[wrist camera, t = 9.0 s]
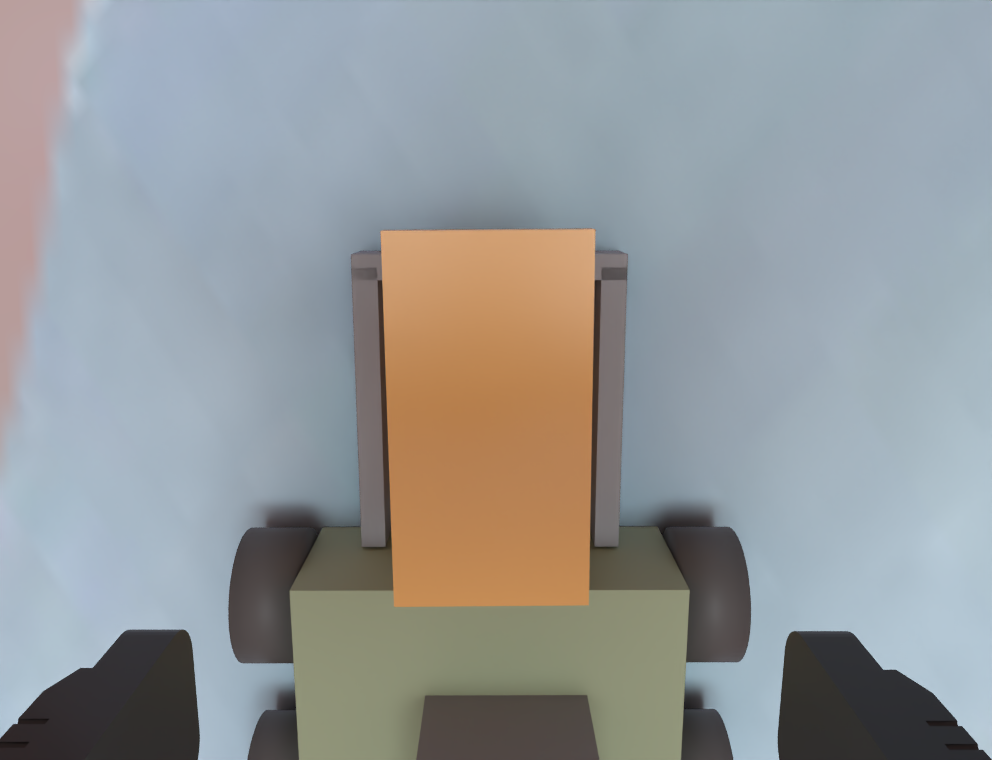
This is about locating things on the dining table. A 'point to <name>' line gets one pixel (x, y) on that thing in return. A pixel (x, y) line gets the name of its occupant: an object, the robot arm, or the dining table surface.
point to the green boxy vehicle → (490, 612)
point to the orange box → (489, 414)
